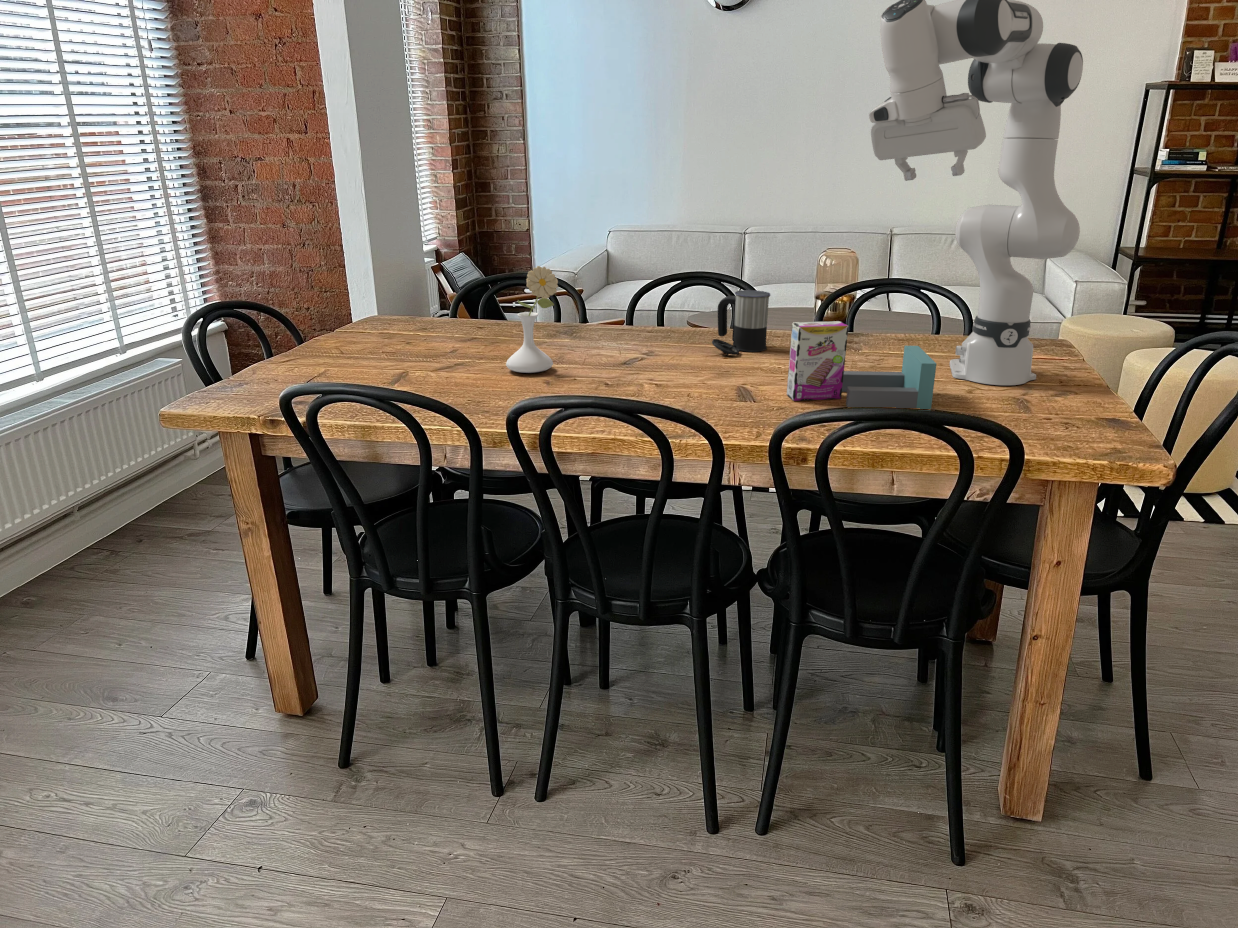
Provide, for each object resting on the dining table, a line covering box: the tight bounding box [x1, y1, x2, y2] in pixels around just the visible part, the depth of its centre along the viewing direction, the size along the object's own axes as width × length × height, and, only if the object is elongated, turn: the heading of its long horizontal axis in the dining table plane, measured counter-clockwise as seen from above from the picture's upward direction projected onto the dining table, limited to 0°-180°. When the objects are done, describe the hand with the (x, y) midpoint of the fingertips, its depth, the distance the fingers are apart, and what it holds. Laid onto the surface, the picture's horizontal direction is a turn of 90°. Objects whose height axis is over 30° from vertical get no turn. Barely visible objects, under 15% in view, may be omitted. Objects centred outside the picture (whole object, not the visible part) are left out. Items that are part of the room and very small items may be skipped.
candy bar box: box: [786, 320, 849, 402], centre depth 197 cm, size 11×5×16 cm, turn 100°
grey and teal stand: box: [842, 345, 937, 410], centre depth 197 cm, size 16×17×10 cm
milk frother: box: [711, 289, 771, 356], centre depth 239 cm, size 14×16×15 cm
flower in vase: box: [505, 265, 559, 374], centre depth 218 cm, size 13×11×25 cm
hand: (934, 177), depth 166 cm, fingers open, 8 cm apart
